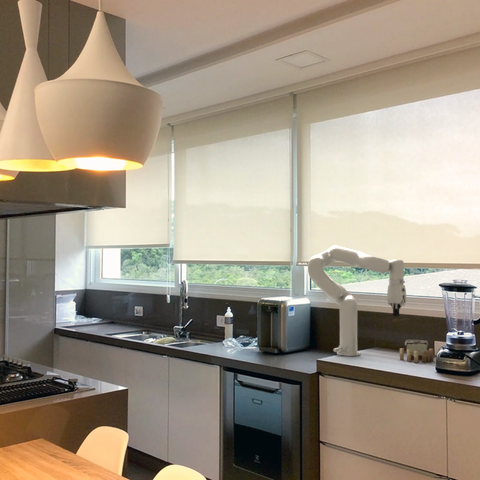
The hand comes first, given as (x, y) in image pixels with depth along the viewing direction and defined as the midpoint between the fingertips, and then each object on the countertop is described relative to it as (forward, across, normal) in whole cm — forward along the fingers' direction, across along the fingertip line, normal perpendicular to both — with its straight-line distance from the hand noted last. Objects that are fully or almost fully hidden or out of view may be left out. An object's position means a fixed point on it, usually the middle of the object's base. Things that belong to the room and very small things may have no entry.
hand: (396, 316), depth 300 cm
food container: (+22, -12, -1) cm, 25 cm away
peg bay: (+22, -15, 0) cm, 26 cm away
